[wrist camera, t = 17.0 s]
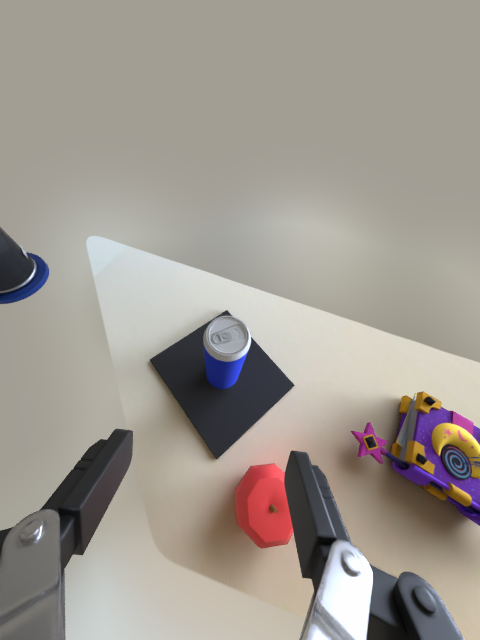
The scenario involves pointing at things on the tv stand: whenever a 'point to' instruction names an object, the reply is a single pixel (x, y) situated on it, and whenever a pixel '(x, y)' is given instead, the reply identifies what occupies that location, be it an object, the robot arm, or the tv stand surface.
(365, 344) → the tv stand surface
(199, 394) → the mat
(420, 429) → the book
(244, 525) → the apple
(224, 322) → the beverage can
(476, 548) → the tv stand surface
